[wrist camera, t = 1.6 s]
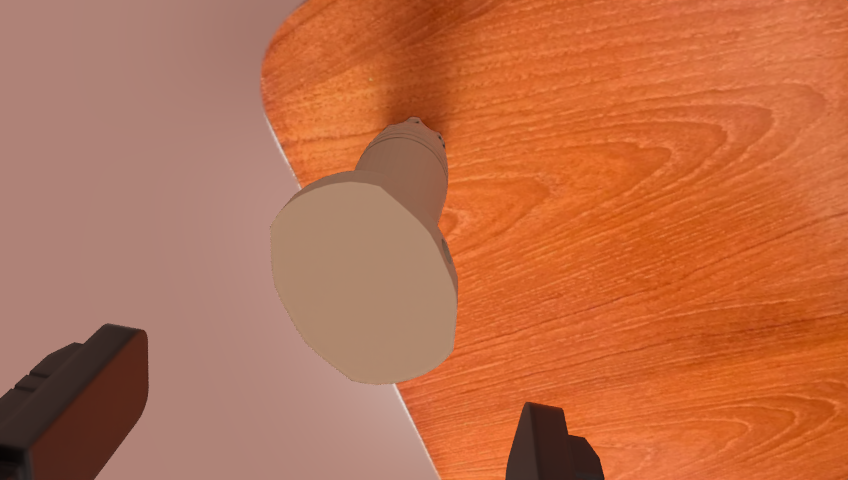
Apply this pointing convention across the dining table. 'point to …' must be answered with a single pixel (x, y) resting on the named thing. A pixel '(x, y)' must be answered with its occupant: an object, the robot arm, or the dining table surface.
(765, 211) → the dining table surface
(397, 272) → the handle
